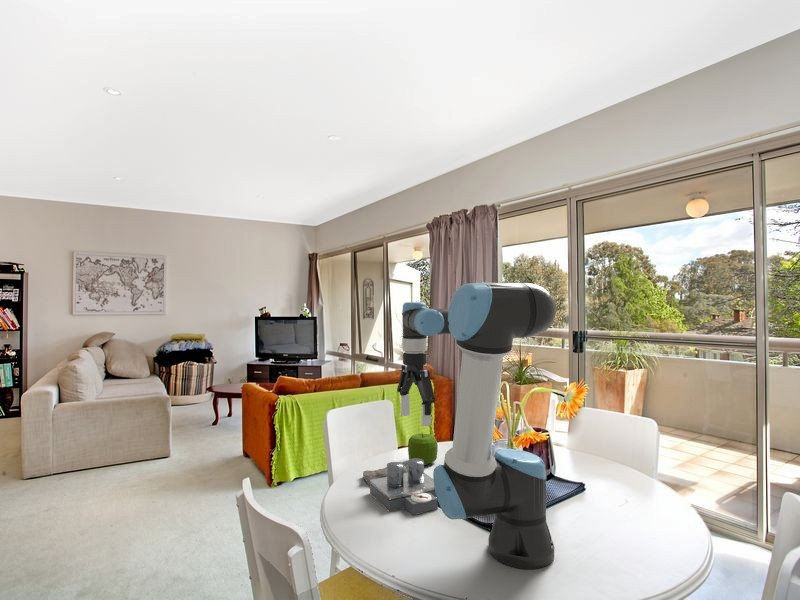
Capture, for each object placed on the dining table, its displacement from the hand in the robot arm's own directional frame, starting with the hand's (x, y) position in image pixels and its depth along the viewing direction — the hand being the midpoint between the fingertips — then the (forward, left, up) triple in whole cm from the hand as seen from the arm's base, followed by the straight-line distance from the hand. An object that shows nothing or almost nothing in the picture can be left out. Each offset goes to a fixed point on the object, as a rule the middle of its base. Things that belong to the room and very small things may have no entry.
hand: (415, 420), depth 141 cm
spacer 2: (0, 0, -19) cm, 19 cm away
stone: (+15, +4, -23) cm, 28 cm away
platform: (0, +3, -19) cm, 20 cm away
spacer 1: (0, +7, -18) cm, 20 cm away
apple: (+23, -16, -23) cm, 36 cm away
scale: (-3, +4, -23) cm, 23 cm away
